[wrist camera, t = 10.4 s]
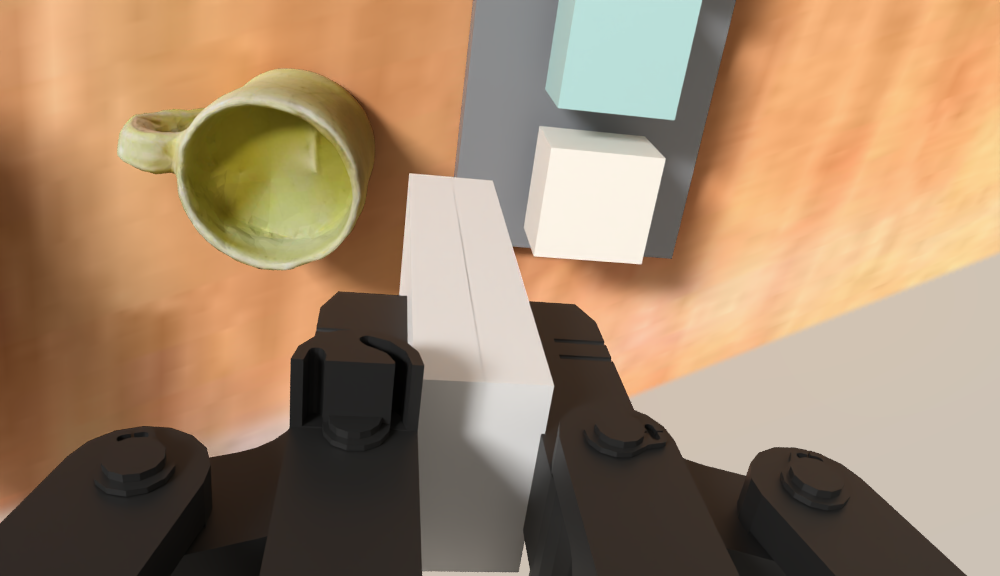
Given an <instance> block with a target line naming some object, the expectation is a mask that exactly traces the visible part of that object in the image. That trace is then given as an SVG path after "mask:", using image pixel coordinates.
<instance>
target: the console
mask: <svg viewBox="0 0 1000 576" xmlns="http://www.w3.org/2000/svg"><path fill="white" fill-rule="evenodd" d="M558 2H559V0H473V7H472V16H471V25H470V34H469V43H468V53H467V62H466V71H465V80H464V89H463V99H462V108H461V117H460V126H459V135H458V144H457V154H456V163H455V172H454V177H457V178H468V179H479V180H491V181H493V183H494V187H495V190H496V193H497V197H498V200H499V203H500V207H501V210H502V213H503V217H504V220H505V223H506V227H507V230H508V233H509V237H510V240H511V243H512V247H525V248H531V247H530V244H529V241H528V238H527V235H526V232H525V229H524V223H525V216H526V210H527V203H528V197H529V190H530V184H531V177H532V171H533V164H534V158H535V151H536V145H537V138H538V132H539V126H546V127H556V128H566V129H576V130H586V131H596V132H605V133H615V134H625V135H635V136H645V137H646V138H647V139H648V140H649V141H650V143H651V144H652V145H653V146H654V147H655V148H656V149H657V150H658V151H659V152H660V153H661V154H662V155H663V156H664V157H665V158H666V160H665V164H664V169H663V173H662V177H661V182H660V186H659V190H658V195H657V199H656V203H655V208H654V212H653V216H652V221H651V225H650V229H649V234H648V238H647V242H646V247H645V251H644V255H643V257H656V258H669V259H672V256H673V252H674V248H675V243H676V239H677V235H678V231H679V227H680V223H681V219H682V215H683V211H684V207H685V203H686V199H687V195H688V191H689V187H690V183H691V179H692V175H693V171H694V167H695V163H696V159H697V155H698V151H699V147H700V143H701V139H702V135H703V131H704V127H705V123H706V119H707V115H708V111H709V107H710V102H711V98H712V94H713V90H714V86H715V82H716V78H717V74H718V70H719V66H720V62H721V58H722V54H723V50H724V46H725V42H726V38H727V34H728V30H729V26H730V22H731V18H732V14H733V10H734V6H735V2H736V0H702V3H701V8H700V12H699V16H698V21H697V25H696V29H695V34H694V38H693V43H692V47H691V51H690V56H689V60H688V64H687V69H686V73H685V77H684V82H683V86H682V90H681V95H680V99H679V103H678V108H677V112H676V116H675V120H667V119H657V118H648V117H638V116H629V115H619V114H609V113H600V112H590V111H581V110H571V109H562V108H557V106H556V105H555V103H554V102H553V100H552V99H551V97H550V96H549V94H548V93H547V91H546V90H545V86H546V80H547V73H548V67H549V60H550V54H551V47H552V41H553V34H554V28H555V22H556V15H557V9H558Z"/></svg>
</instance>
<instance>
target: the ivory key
mask: <svg viewBox="0 0 1000 576" xmlns="http://www.w3.org/2000/svg"><path fill="white" fill-rule="evenodd" d="M665 160H666V158H665V157H664V156H663V155H662V154H661V153H660V152H659V151H658V150H657V149H656V148H655V147H654V146H653V145H652V144H651V143H650V141H649V140H648V139H647V138H646V137H645V136H635V135H625V134H615V133H605V132H596V131H586V130H576V129H566V128H556V127H546V126H539V132H538V138H537V145H536V151H535V158H534V164H533V171H532V177H531V184H530V190H529V197H528V203H527V210H526V216H525V223H524V229H525V232H526V235H527V238H528V241H529V244H530V247H531V250H532V253H533V255H534V256H538V257H551V258H564V259H578V260H591V261H604V262H618V263H631V264H642V260H643V255H644V251H645V247H646V242H647V238H648V234H649V229H650V225H651V221H652V216H653V212H654V208H655V203H656V199H657V195H658V190H659V186H660V182H661V177H662V173H663V169H664V164H665Z"/></svg>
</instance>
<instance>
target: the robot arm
mask: <svg viewBox="0 0 1000 576" xmlns="http://www.w3.org/2000/svg"><path fill="white" fill-rule="evenodd" d="M524 541H525V545H526V550H527V555H528V561H529V566H530V573H529V576H967V575H965V574H964V573H963V572H962V571H961V570H960V569H959V568H958V567H957V566H956V565H954V563H952V562H951V561H950V560H949V559H948V558H947V557H946V556H945V555H944V554H943V553H942V552H940V551H939V550H938V549H937V548H936V547H935V546H934V545H933V544H932V543H930V541H929V540H927V539H926V538H925V537H924V536H923V535H922V534H921V533H920V532H919V531H918V530H917V529H915V528H914V527H913V526H912V525H911V524H910V523H909V522H908V521H907V520H906V519H905V518H904V517H902V516H901V515H900V514H899V513H898V512H897V511H896V510H894V508H893V507H892V506H890V505H889V504H888V503H887V502H886V501H885V500H884V499H883V498H882V497H881V496H880V495H878V494H877V493H876V492H875V491H874V490H873V489H872V488H871V487H870V486H869V485H868V484H866V483H865V482H864V481H863V480H862V479H861V478H860V477H858V476H857V475H856V474H854V473H853V472H852V471H850V470H849V469H847V468H846V467H845V466H843V465H842V464H840V463H838V462H836V461H833V460H831V459H829V458H827V457H825V456H823V455H822V454H819V453H815V452H812V451H807V450H803V449H798V448H784V447H783V448H782V447H774V448H771V449H768V450H765V451H762V452H759V453H758V454H757V456H756V457H755V458H754V459H753V461H752V462H751V464H750V466H749V469H748V472H747V475H746V476H744V475H740V474H736V473H732V472H729V471H725V470H721V469H717V468H713V467H708V466H705V465H702V464H698V463H695V462H692V461H689V460H686V459H684V458H683V457H682V455H681V454H680V451H679V449H678V447H677V445H676V443H675V441H674V439H673V438H672V437H671V436H670V434H669V433H668V432H667V431H666V429H665V428H664V427H663V426H662V425H660V424H659V423H657V422H656V421H654V420H653V419H652V418H650V417H649V416H647V415H645V414H642V413H640V412H637V411H635V410H634V409H633V406H632V404H631V402H630V400H629V397H628V395H627V393H626V390H625V388H624V386H623V384H622V381H621V379H620V377H619V374H618V372H617V370H616V367H615V365H614V363H613V362H611V356H610V354H609V351H608V349H607V347H606V345H604V340H603V338H602V335H601V333H600V331H599V329H598V326H597V324H596V322H595V321H594V320H593V319H591V318H590V317H589V316H588V315H587V314H586V313H584V312H583V311H582V310H581V309H580V308H579V307H577V306H576V305H575V304H561V303H546V302H531V301H529V300H528V297H527V293H526V290H525V287H524V283H523V280H522V277H521V273H520V270H519V267H518V263H517V260H516V257H515V253H514V250H513V247H512V243H511V240H510V237H509V233H508V230H507V227H506V223H505V220H504V217H503V213H502V210H501V207H500V203H499V200H498V197H497V193H496V190H495V187H494V183H493V181H491V180H479V179H468V178H457V177H446V176H435V175H423V174H412V173H409V183H408V195H407V207H406V219H405V231H404V243H403V255H402V268H401V280H400V292H399V295H385V294H370V293H355V292H339V291H338V292H337V293H336V294H335V295H334V296H333V297H332V298H331V299H330V300H328V301H327V302H326V303H325V304H324V305H323V306H322V307H321V308H320V313H319V318H318V323H317V330H316V334H315V336H314V337H313V338H311V339H309V340H308V341H306V342H304V343H303V344H301V345H299V346H298V348H297V350H296V351H295V353H294V354H293V356H292V358H291V375H290V428H289V430H288V431H286V432H285V433H284V434H282V435H281V436H279V437H278V438H276V439H275V440H273V441H271V442H269V443H266V444H264V445H262V446H259V447H257V448H254V449H250V450H246V451H242V452H238V453H233V454H227V455H222V456H216V457H210V458H209V456H208V452H207V448H206V447H205V446H204V445H203V444H202V443H200V442H199V441H198V440H197V439H196V438H195V437H194V436H193V435H190V434H187V433H184V432H181V431H178V430H176V429H173V428H165V427H149V426H142V427H135V428H129V429H123V430H116V431H113V432H111V433H108V434H106V435H103V436H100V437H98V438H95V439H93V440H90V441H88V442H87V443H85V444H84V445H82V446H81V447H80V448H78V449H77V450H76V451H74V452H73V453H71V454H70V455H69V456H67V457H66V458H65V459H64V460H63V461H62V462H61V463H60V464H59V465H58V466H57V467H56V468H55V469H54V470H53V471H52V472H51V473H50V474H49V475H48V476H47V477H46V478H45V479H44V480H43V481H42V482H41V483H40V484H39V485H38V486H37V487H36V488H35V489H34V490H33V491H32V492H31V493H30V494H29V495H28V496H27V497H26V498H25V499H24V500H23V501H22V502H21V503H20V504H19V505H18V506H17V507H16V508H15V509H14V510H13V511H12V512H11V513H10V514H9V515H8V516H7V517H6V518H5V519H4V520H3V521H2V522H1V523H0V576H422V571H456V572H457V571H460V572H519V567H520V562H521V557H522V551H523V546H524Z"/></svg>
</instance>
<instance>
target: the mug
mask: <svg viewBox="0 0 1000 576" xmlns="http://www.w3.org/2000/svg"><path fill="white" fill-rule="evenodd" d="M117 154H118V156H119V157H120V158H121V159H122V160H123V161H124V162H126V163H128V164H130V165H132V166H134V167H135V168H138V169H140V170H142V171H146V172H150V173H153V174H162V173H174V174H176V177H177V183H178V194H179V198H180V200H181V203H182V205H183V208H184V210H185V212H186V214H187V215H188V217H189V219H190V220H191V222H192V224H193V225H194V227H195V228H196V230H197V231H198V232H199V233H200V234H201V235H202V236H203V237H204V238H205V240H206V241H208V242H209V243H210V244H211V245H212V246H214V247H215V248H216V249H217V250H219V251H221V252H223V253H224V254H226V255H228V256H230V257H231V258H233V259H234V260H236V261H239V262H241V263H244V264H246V265H250V266H253V267H256V268H258V269H266V270H289V269H294V268H295V267H298V266H301V265H304V264H307V263H309V262H312V261H315V260H320V259H323V258H324V257H326V256H327V255H329V254H330V253H332V252H333V251H334V250H335V249H337V248H338V246H339V245H340V244H341V243H342V242H343V241H344V239H345V238H346V237H347V236H348V235H349V234H350V233H351V231H352V230H353V228H354V226H355V224H356V221H357V219H358V217H359V215H360V214H361V212H362V210H363V207H364V204H365V201H366V195H367V187H368V180H369V178H370V175H371V172H372V170H373V165H374V157H375V140H374V134H373V130H372V127H371V124H370V122H369V120H368V117H367V115H366V113H365V111H364V110H363V108H362V107H361V105H360V104H359V103H358V102H357V101H356V100H355V98H354V97H353V96H352V95H351V94H350V93H349V92H348V91H347V90H345V89H344V88H343V87H342V86H340V85H339V84H337V83H336V82H334V81H332V80H330V79H328V78H326V77H324V76H322V75H320V74H317V73H314V72H310V71H306V70H301V69H275V70H270V71H267V72H265V73H263V74H260V75H258V76H256V77H255V78H253V79H251V80H250V81H249V82H248V83H246V84H245V85H244V86H243V87H241V88H238V89H236V90H234V91H232V92H230V93H227V94H225V95H223V96H221V97H220V98H218V99H217V100H215V101H214V102H213V103H211V104H210V105H209V106H207V107H206V108H200V109H193V110H182V109H173V110H162V111H160V112H155V113H144V114H138V115H134V116H133V117H131V118H130V119H129V120H128V122H127V123H126V124H125V125H124V127H123V128H122V130H121V131H120V134H119V140H118V147H117Z"/></svg>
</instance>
